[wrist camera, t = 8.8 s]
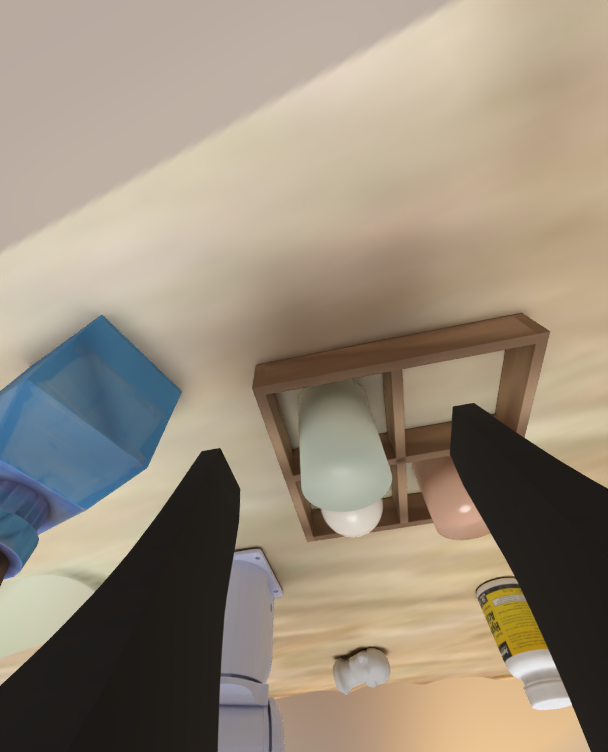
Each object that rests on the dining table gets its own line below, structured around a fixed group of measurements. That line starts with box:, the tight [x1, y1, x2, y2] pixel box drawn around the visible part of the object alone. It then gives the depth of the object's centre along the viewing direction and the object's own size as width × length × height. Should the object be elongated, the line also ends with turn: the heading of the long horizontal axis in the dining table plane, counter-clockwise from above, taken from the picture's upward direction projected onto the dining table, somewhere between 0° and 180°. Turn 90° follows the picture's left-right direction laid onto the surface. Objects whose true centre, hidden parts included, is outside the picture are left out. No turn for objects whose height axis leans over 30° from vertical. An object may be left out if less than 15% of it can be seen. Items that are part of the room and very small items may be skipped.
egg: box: [321, 498, 383, 537], centre depth 24 cm, size 5×5×5 cm
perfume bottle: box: [0, 315, 182, 586], centre depth 15 cm, size 6×6×12 cm
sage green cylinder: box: [298, 379, 392, 512], centre depth 19 cm, size 5×5×6 cm
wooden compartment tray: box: [252, 313, 550, 542], centre depth 23 cm, size 16×16×2 cm
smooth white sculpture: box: [333, 648, 390, 695], centre depth 46 cm, size 4×8×5 cm
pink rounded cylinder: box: [412, 456, 490, 540], centre depth 24 cm, size 5×5×5 cm
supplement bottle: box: [477, 578, 572, 710], centre depth 34 cm, size 5×5×10 cm
